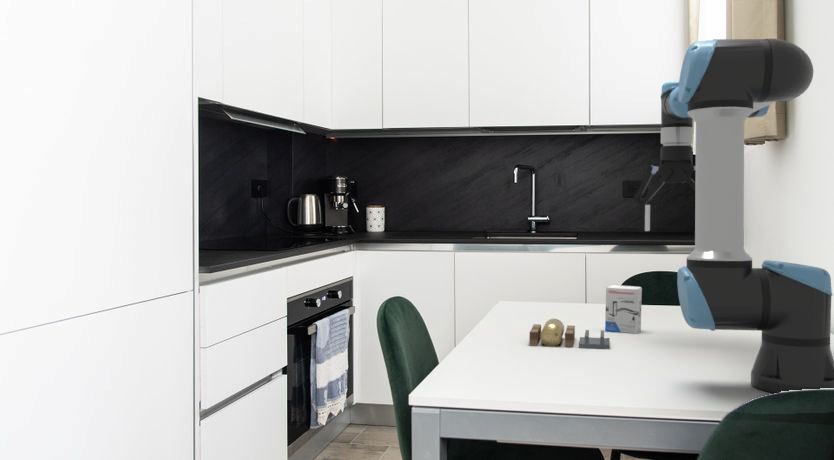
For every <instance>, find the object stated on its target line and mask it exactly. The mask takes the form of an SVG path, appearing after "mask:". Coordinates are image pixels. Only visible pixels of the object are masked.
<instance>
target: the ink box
mask: <svg viewBox="0 0 834 460" xmlns="http://www.w3.org/2000/svg"><path fill="white" fill-rule="evenodd" d="M605 290H606V291H605V318H604V319H605V326H604V332H613V333H614V332H615V333H627V334H635V335H637V334H638V333H640V332H641V331H642V299H643V298H642V295H643V294H642V293H643V292H642V291H643V288H642V287H641V286H633V285H619V284H618V285H617V284H616V285H615V284H612V285H609V286H606V288H605Z"/></svg>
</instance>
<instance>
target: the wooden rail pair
mask: <svg viewBox="0 0 834 460" xmlns="http://www.w3.org/2000/svg"><path fill="white" fill-rule="evenodd" d="M575 329H576V326H575V325H566V329H565V331H564V348H573V347H574V343H575V339H576V336H575V335H576V334H575V333H576V330H575ZM541 332H542V324H533V326H532V327H531V329H530V331H529V346H530V347H531V346H532V347H533V346H534V347H537V346H538V345H539V343H540V341H541V338H540V335H541Z"/></svg>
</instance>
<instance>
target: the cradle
mask: <svg viewBox="0 0 834 460" xmlns="http://www.w3.org/2000/svg"><path fill="white" fill-rule="evenodd" d="M610 341H611V340H610V337H605V330H600V336H599V337H590V330H589V329H585V333H584V336H583V337H582V336H580V337H579V341H578V348H579V349H597V350H599V349H600V350H610V348H611V347H610V345H611V343H610Z"/></svg>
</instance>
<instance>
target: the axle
mask: <svg viewBox="0 0 834 460" xmlns="http://www.w3.org/2000/svg"><path fill="white" fill-rule="evenodd" d="M564 334H565V325H564V323H563V322H562V321H561V320H560V319H558V318H550V319H548V320H547V321H546V322H545V324H544V326H543V328H542V329H541V335H540V338H541V339H540V341H541V343H542V344H543V345H544V346H545V347H550V348H551V347H557V346H558V345H559V344H561V342H562V339H563V336H564Z"/></svg>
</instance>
